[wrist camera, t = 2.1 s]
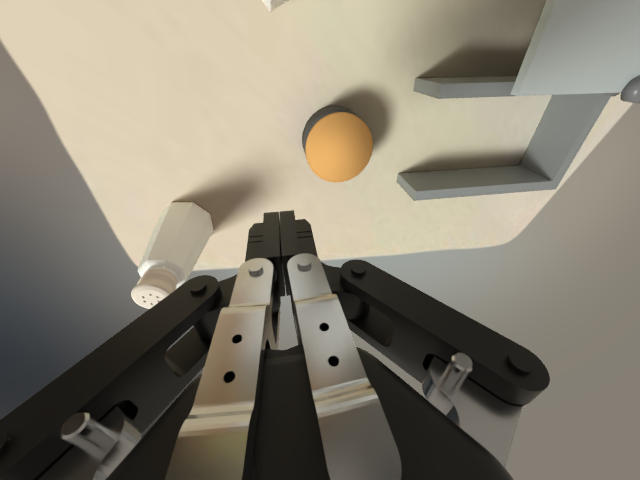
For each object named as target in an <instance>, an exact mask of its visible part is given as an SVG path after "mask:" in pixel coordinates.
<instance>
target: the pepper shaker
mask: <svg viewBox="0 0 640 480" xmlns="http://www.w3.org/2000/svg"><path fill="white" fill-rule="evenodd" d="M213 230H214V229H213V225H212V220H211V215H210V214H209V213H208V212H206V211H205V210H204V209H202V208H201V207H199V206H198V205H196V204H195V203H193V202H171V204H170V205H169V206H168V207H167V208H166V209H165V210H164V211H163V212H162V214H161V215H160V217H159V219H158V222H157V224H156V226H155V229H154V231H153V233H152V236H151V238H150V241H149V243H148V245H147V248H146V250H145V253H144V255H143V257H142V260H141V262H140V265H139V268H138V272H139V274H140V276H141V278H140V280H139V282H138V283H137V285H136V286H135V287H134V288H133V290H132V293H131V296H132V298H133V300H134V301H135V302H136V303H137V304H138V305H140V306H142V307H145V308H148V309H151V308H152V307H153V306H155V305H156V304H157V303H159V302H160V301H161V300H163V299H164V298H165V297H167V296H168V295H169V294H171V293H172V292H173V291H175V290H176V289H177V288H178V287H179V286H180V285H181V284H182V283H184V282H185V281H186V279H187V278H188V276H189V274H190V273H191V271H192V269H193V267H194V266H195V264H196V262H197V260H198V258H199V256H200V254H201V252H202V251H203V249H204V247H205V245H206V243H207V241H208V239H209V238H210V236H211V234H212V232H213Z"/></svg>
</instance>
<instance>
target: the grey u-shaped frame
mask: <svg viewBox="0 0 640 480" xmlns="http://www.w3.org/2000/svg"><path fill="white" fill-rule="evenodd" d="M516 78H517V76H489V77H447V78H416V79H415V85H414V90H413V91H415V92H418V93H422V94H425V95H428V96H431V97H435V98H438V99H443V98H472V97H502V96H516V95H511V91H512V89H513V86H514V84H515V81H516ZM618 94H619V93H591V94H562V95H553V96H552V98H551V100H550V102H549V104H548V106H547V108H546V110H545V113H544V115H543V117H542V119H541V121H540V123H539V125H538V127H537V129H536V132H535V134H534V136H533V138H532V140H531V142H530V144H529V146H528V149H527V151H526V153H525V155H524V157H523V159H522V161H521V163H520V165H516V166H502V167H487V168H472V169H457V170H443V171H428V172H413V173H398V177H397V183H398V184H399V185H400V186H401V187H402V188H403V189H404V190H405V192H406V193H407V194H408V195H409V196H410V197H411V198H412V199H413V200H414V201H415V200H428V199H440V198H452V197H465V196H477V195H490V194H502V193H514V192H527V191H539V190H551V189H556V188H557V186H558V185H559V183H560V181H561V180H562V178H563V176H564V175H565V173H566V171H567V169H568V168H569V166H570V164H571V163H572V161H573V159H574V158H575V156H576V154H577V153H578V151H579V149H580V148H581V146H582V144H583V142H584V141H585V139H586V137H587V136H588V134H589V132H590V131H591V129H592V127H593V126H594V124H595V122H596V121H597V119H598V117H599V115H600V114H601V112H602V110H603V109H604V107H605V105H606V104H607V102H608V100H609V99H610V97H611V96H616V95H618Z"/></svg>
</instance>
